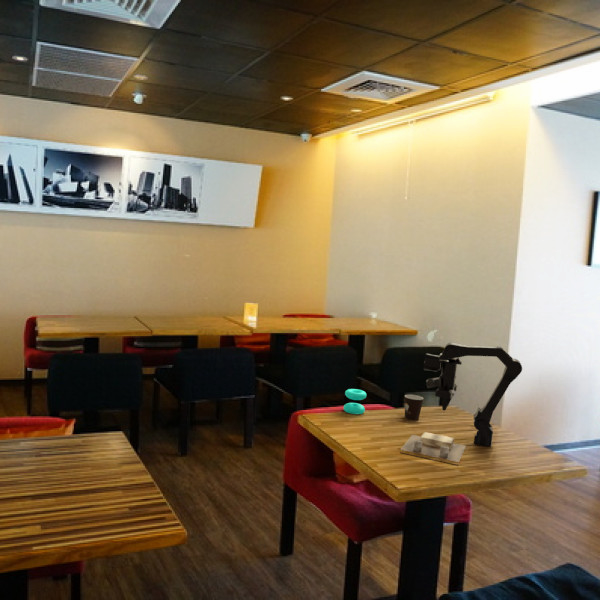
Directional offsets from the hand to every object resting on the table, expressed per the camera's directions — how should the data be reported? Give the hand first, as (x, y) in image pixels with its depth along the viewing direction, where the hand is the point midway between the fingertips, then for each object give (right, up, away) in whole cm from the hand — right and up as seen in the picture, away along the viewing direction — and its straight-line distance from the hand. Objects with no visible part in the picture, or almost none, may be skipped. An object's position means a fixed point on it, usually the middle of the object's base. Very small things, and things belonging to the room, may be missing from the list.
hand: (444, 410), depth 258 cm
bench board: (-7, -14, -13) cm, 21 cm away
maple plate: (-5, -12, -8) cm, 15 cm away
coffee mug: (-8, -9, +33) cm, 35 cm away
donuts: (-35, -7, +33) cm, 48 cm away
